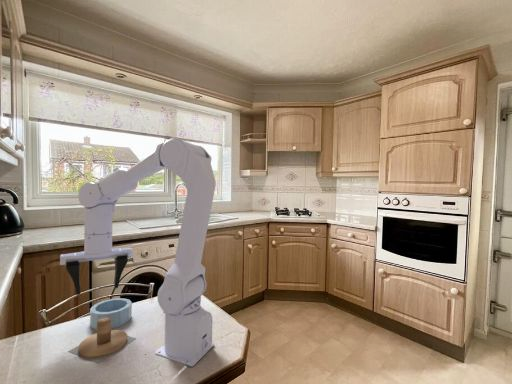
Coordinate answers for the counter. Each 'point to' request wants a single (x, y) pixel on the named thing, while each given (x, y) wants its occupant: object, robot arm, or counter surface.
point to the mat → (99, 359)
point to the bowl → (111, 312)
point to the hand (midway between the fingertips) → (98, 290)
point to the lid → (102, 341)
